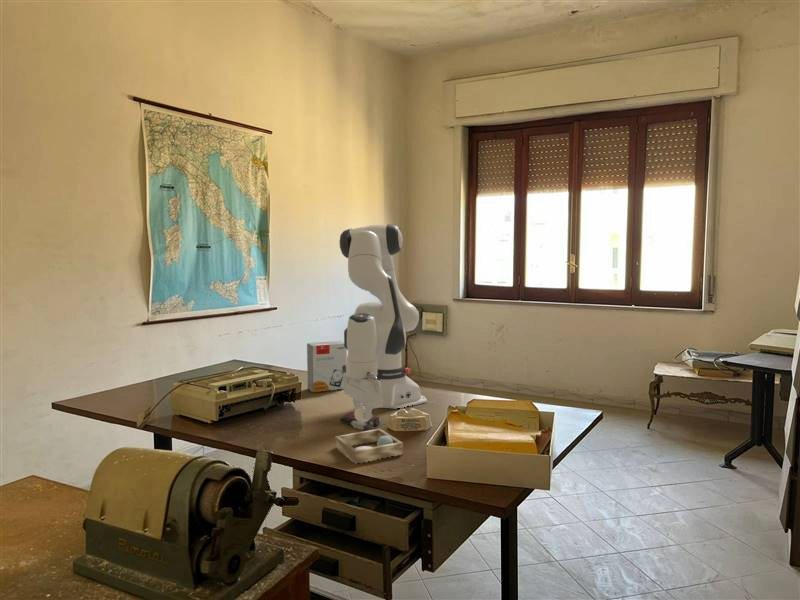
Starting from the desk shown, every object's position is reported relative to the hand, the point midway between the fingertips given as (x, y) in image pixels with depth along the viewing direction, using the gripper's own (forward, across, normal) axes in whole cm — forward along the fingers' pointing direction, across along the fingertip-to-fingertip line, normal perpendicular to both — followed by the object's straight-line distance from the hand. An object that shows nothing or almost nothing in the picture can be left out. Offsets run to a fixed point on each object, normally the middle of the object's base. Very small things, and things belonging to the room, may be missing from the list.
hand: (362, 416), depth 166 cm
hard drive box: (+10, +75, -17) cm, 78 cm away
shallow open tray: (+10, -1, -1) cm, 11 cm away
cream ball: (+2, 0, 0) cm, 2 cm away
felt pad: (+10, 0, 0) cm, 11 cm away
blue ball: (+10, -4, -5) cm, 12 cm away
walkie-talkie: (+11, +21, -11) cm, 26 cm away
